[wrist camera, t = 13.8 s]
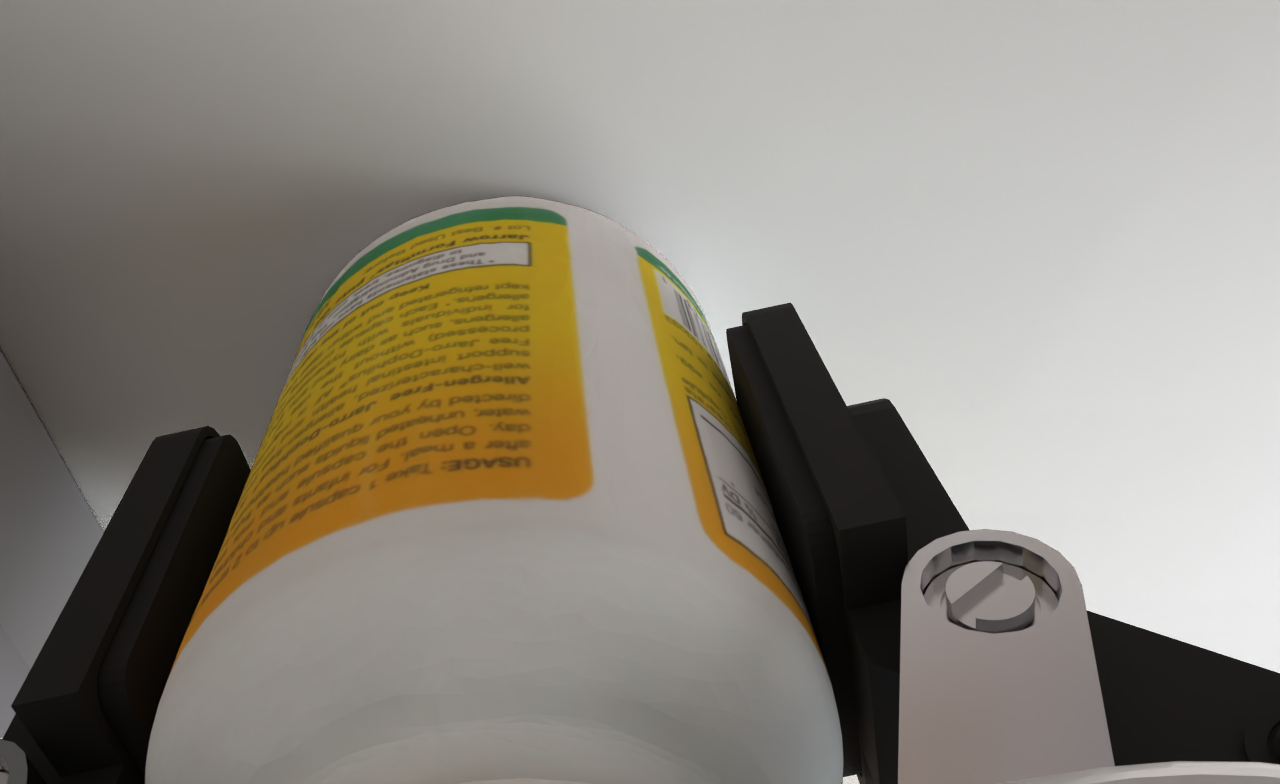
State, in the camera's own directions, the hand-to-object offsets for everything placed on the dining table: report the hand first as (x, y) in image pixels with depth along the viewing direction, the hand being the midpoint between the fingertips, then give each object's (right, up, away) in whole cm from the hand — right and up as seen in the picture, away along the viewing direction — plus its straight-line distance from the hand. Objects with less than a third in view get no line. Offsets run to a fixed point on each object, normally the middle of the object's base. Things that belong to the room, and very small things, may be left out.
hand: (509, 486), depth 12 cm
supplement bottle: (0, +1, +2) cm, 3 cm away
